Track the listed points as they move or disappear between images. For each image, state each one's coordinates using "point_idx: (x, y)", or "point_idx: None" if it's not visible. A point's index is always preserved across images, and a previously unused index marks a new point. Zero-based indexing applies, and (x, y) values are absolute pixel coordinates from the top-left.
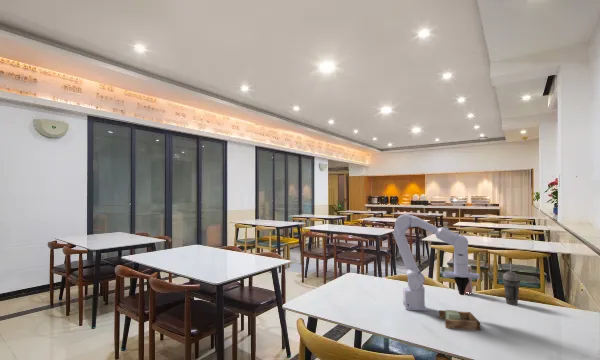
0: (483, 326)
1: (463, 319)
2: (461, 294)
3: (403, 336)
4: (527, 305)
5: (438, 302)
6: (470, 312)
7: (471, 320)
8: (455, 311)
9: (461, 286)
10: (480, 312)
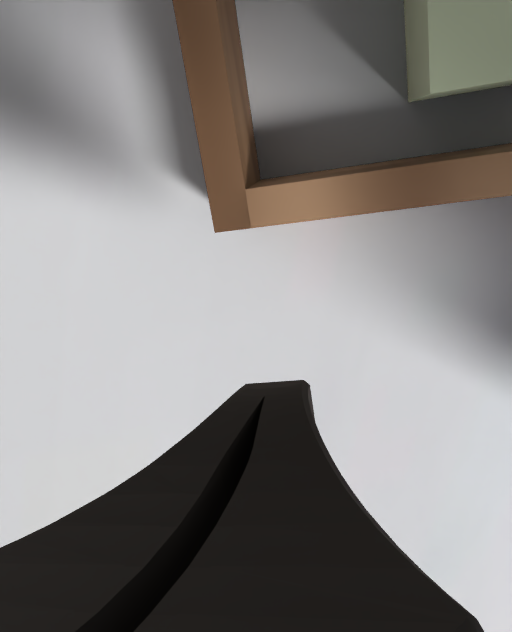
0: (128, 38)
1: (314, 172)
2: (287, 384)
3: None
4: None
5: (467, 586)
6: (214, 222)
7: (237, 72)
8: (462, 41)
9: (263, 481)
10: (114, 420)
